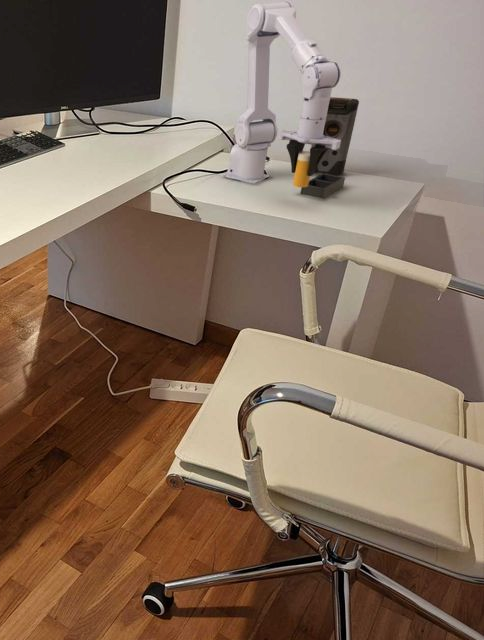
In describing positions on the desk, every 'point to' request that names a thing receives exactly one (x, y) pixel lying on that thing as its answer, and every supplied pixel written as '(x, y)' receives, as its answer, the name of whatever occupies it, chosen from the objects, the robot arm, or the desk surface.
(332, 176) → the organizer
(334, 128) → the electronic device
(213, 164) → the desk surface
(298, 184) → the pill bottle
